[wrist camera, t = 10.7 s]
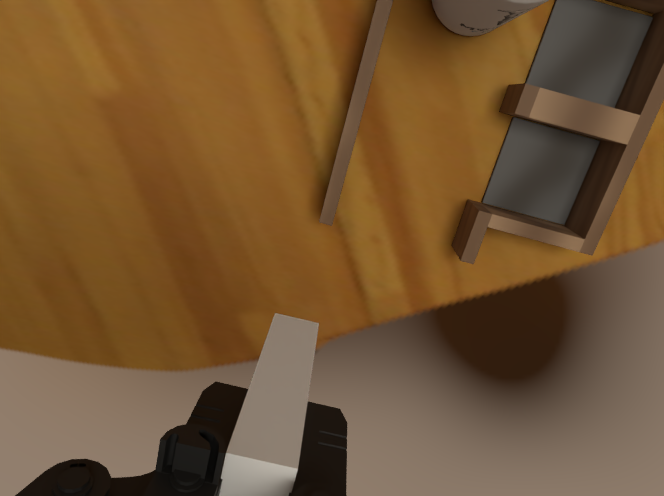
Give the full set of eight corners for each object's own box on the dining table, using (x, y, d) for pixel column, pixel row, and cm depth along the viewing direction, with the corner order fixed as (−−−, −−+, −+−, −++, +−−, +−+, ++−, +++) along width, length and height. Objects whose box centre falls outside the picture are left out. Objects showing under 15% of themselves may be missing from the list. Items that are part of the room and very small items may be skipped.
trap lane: (323, 210, 40) (318, 222, 36) (411, -125, 33) (417, -155, 29) (555, 273, 40) (575, 292, 36) (695, -46, 33) (738, -64, 29)
